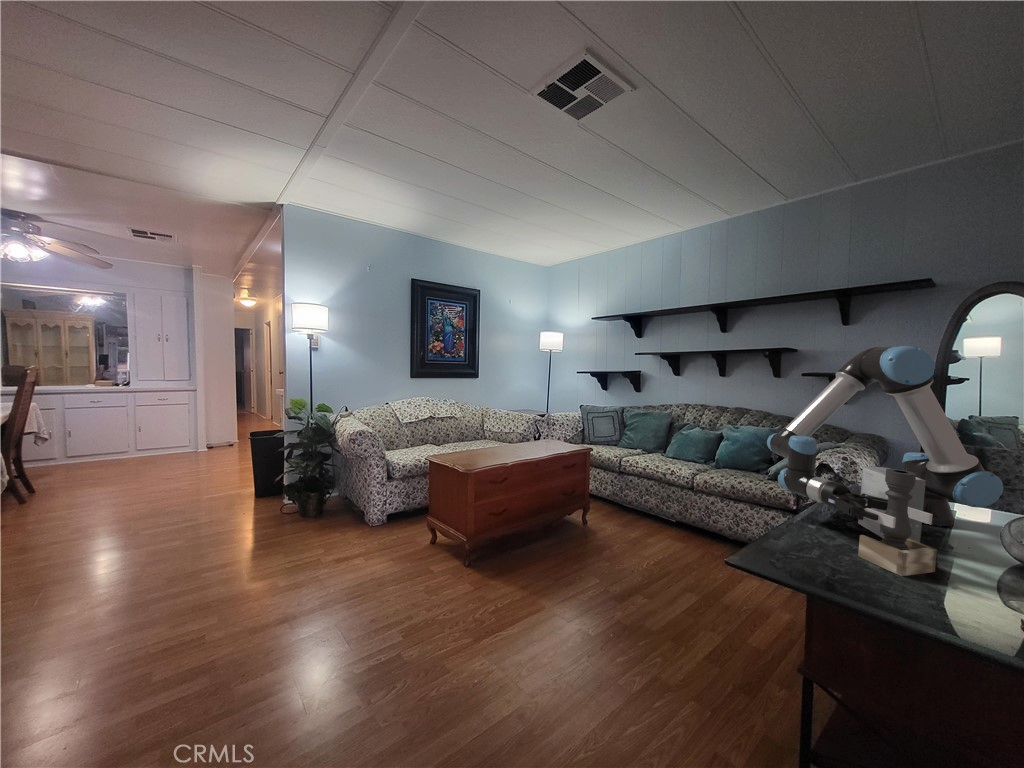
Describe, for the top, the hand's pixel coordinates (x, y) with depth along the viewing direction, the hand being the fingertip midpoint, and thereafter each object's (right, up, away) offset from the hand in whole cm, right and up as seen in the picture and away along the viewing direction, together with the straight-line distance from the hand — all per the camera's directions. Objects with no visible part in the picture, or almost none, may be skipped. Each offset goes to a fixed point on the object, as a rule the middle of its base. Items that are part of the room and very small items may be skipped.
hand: (913, 521), depth 101 cm
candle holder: (-1, -13, +4) cm, 14 cm away
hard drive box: (+14, -12, +22) cm, 29 cm away
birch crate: (-1, -13, +4) cm, 14 cm away
